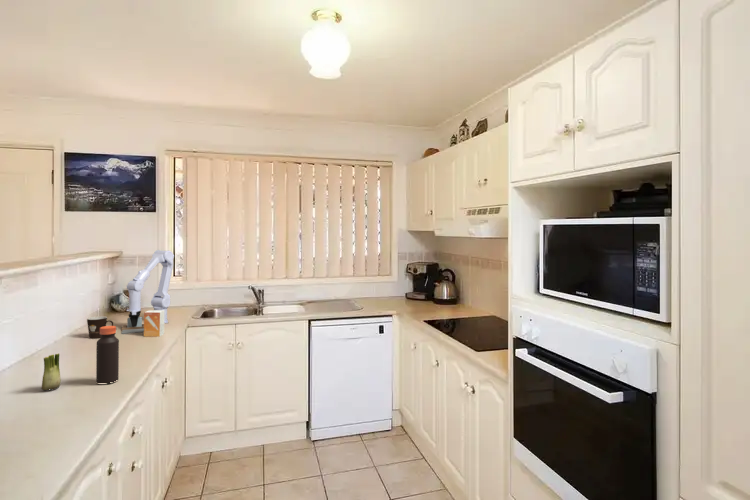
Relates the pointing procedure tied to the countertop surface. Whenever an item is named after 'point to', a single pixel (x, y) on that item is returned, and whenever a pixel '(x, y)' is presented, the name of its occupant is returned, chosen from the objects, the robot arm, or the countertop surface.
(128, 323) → the painted block
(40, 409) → the countertop surface
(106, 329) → the bottle
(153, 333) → the small box
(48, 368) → the fennel bulb
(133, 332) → the rubber mat
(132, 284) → the robot arm
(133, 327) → the walnut frame
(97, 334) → the coffee mug
